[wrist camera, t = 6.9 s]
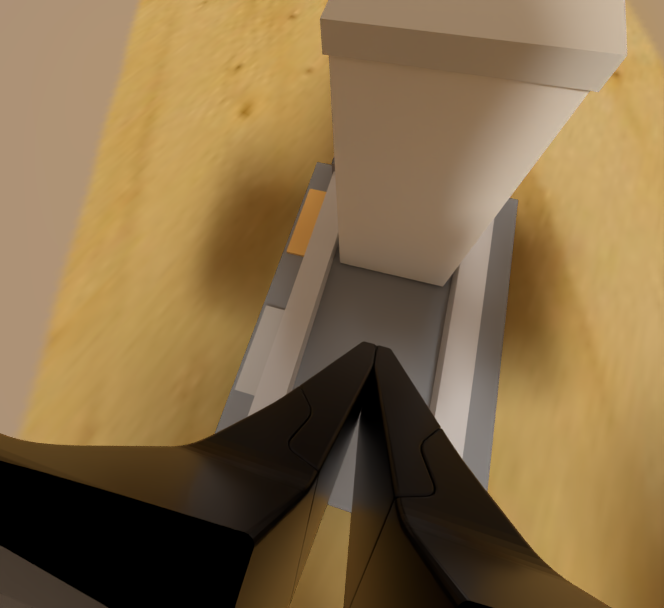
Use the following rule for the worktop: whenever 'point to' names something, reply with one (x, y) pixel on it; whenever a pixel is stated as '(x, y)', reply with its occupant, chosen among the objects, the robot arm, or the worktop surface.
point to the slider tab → (450, 115)
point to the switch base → (382, 328)
